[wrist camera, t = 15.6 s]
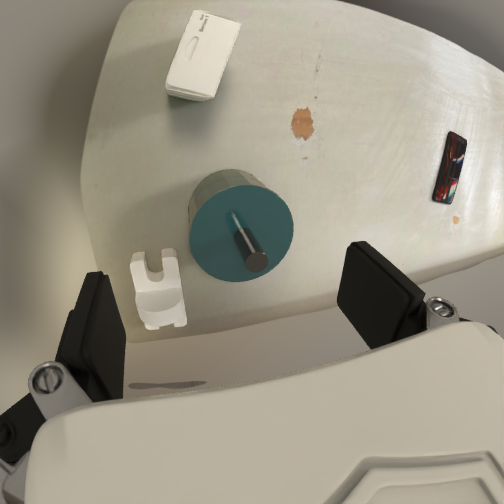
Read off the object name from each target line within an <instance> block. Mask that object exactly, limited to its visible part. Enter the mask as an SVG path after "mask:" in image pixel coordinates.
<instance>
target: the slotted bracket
mask: <svg viewBox="0 0 504 504" xmlns="http://www.w3.org/2000/svg"><path fill="white" fill-rule="evenodd" d="M162 263H163V270H162V271H161V272H158V273H153V272H151V271H150V270H149V269H148V267H147V262H146V256H145V251H143V252H136V253H133V254H132V257H131V262H130V270H131V274H132V278H133V282H134V286H135V290H136V297H135V302H136V306H137V310H138V313H139V317H140V319H141V320H142V321H143V322H144V324H145V327H146V328H147V329H148V330H156V329H159V326H165V325H169V324H171V323H174V326H175V327H181V326H185V325H186V324H187V318H186V311H185V305H184V298H183V292H182V285H181V278H180V271H179V264H178V257H177V251H176V250H175V249H174V248H167V249H162Z"/></svg>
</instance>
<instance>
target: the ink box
mask: <svg viewBox="0 0 504 504" xmlns="http://www.w3.org/2000/svg"><path fill="white" fill-rule="evenodd" d="M241 25H242V23H240V22H238V21H236V20H233V19H230V18H227V17H224V16H221V15H217V14H214V13H210V12H206V11H201V10H194V11H193V13H192V15H191V17H190V19H189V21H188V24H187V26H186V28H185V31H184V33H183V36H182V39H181V41H180V43H179V45H178V48H177V52H176V54H175V57H174V59H173V61H172V64H171V67H170V70H169V73H168V75H167V78H166V83H165V88H166V91H167V93H168V95H169V96H174V97H178V98H182V99H187V100H192V101H198V102H203V101H206V100H210V99H213V98H214V97H215V94H216V91H217V89H218V86H219V83H220V80H221V77H222V75H223V72H224V69H225V67H226V64H227V61H228V59H229V56H230V53H231V51H232V48H233V46H234V43H235V41H236V38H237V36H238V33H239V31H240V28H241Z"/></svg>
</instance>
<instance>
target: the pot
mask: <svg viewBox="0 0 504 504" xmlns="http://www.w3.org/2000/svg"><path fill="white" fill-rule="evenodd" d="M238 184H255V185H259V186H263V187H265V188H267V187H266V186H265V185H264V184H262V183H261V182H260V181H259V180H258V179H257V178H256V177H254V176H253V175H252V174H249V173H247V172H244V171H241V170H234V169H228V170H222V171H218V172H215V173H213V174H211V175H209V176H208V177H206V178H205V179H204V180H202V181H201V182H200V183H199V185H198V186H197V187H196V188H195V190H194V192H193V194H192V196H191V199H190V202H189V207H188V212H189V220H190V226H191V222H192V220H193V217H194V215H195V214H196V212H197V210H198V209H199V207H200V206H201V205H202V204H203V203H204V202H205V200H206V199H208V198H209V197H210V196H211V195H213V194H214V193H216V192H218V191H219V190H221V189H224V188H226V187H229V186H233V185H238Z"/></svg>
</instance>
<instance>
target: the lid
mask: <svg viewBox="0 0 504 504" xmlns="http://www.w3.org/2000/svg"><path fill="white" fill-rule="evenodd" d="M292 237H293V219H292V215H291V212H290V210H289V208H288V206H287V205H286V203H285V202H284V201H283V200H282V199H281V198H280V197H279V196H278V195H277V194H276V193H274V192H273V191H271V190H269V189H268V188H265V187H263V186H259V185H255V184H238V185H233V186H229V187H226V188H224V189H221V190H219V191H218V192H216V193H214V194H213V195H211V196H210V197H209V198H208V199H206V200H205V202H204V203H203V204H202V205H201V206H200V207H199V209H198V210H197V212H196V214H195V215H194V217H193V220H192V222H191V226H190V232H189V243H190V248H191V252H192V255H193V257H194V259H195V261H196V262H197V264H198V265H199V266H200V267H201V268H202V269H203V270H204V271H205V272H206V273H208V274H209V275H211V276H213V277H215V278H217V279H220V280H224V281H230V282H242V281H248V280H252V279H255V278H258V277H260V276H262V275H264V274H266V273H268V272H269V271H270V270H272V269H273V268H274V267H275V266H276V265H278V264H279V262H280V261H281V260H282V259H283V258H284V256H285V255H286V253H287V251H288V249H289V247H290V244H291V242H292Z"/></svg>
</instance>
